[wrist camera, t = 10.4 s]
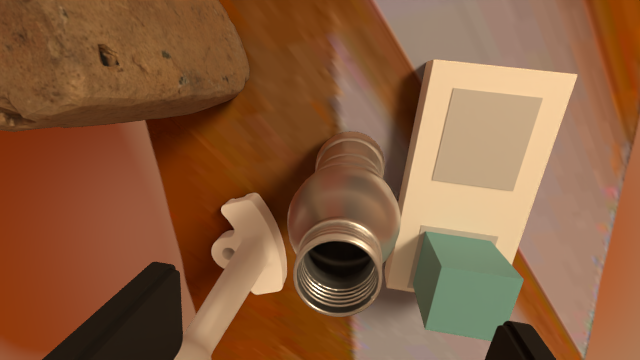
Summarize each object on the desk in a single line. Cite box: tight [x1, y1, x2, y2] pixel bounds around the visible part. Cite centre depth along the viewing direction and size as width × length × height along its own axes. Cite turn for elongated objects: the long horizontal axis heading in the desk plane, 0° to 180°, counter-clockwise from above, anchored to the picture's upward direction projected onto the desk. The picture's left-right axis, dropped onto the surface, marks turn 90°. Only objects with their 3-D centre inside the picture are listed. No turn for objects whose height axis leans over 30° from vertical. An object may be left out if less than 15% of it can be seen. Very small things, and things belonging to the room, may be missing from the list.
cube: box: [413, 231, 524, 341], centre depth 27 cm, size 6×6×6 cm
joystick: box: [174, 193, 287, 360], centre depth 26 cm, size 11×8×20 cm
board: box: [384, 59, 577, 292], centre depth 29 cm, size 22×11×3 cm, turn 174°
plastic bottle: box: [287, 131, 401, 317], centre depth 22 cm, size 6×7×20 cm
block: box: [0, 0, 250, 132], centre depth 20 cm, size 11×8×20 cm
